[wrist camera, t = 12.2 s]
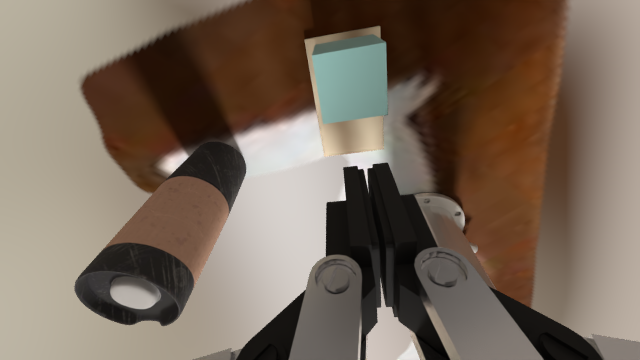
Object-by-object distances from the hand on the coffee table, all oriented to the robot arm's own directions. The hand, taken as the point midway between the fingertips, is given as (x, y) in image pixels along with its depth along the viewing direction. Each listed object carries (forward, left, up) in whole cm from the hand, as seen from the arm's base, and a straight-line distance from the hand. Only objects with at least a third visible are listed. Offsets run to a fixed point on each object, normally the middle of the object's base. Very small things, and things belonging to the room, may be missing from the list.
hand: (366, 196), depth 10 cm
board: (-2, +2, -22) cm, 23 cm away
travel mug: (+10, +18, -23) cm, 30 cm away
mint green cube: (0, -1, -20) cm, 20 cm away
